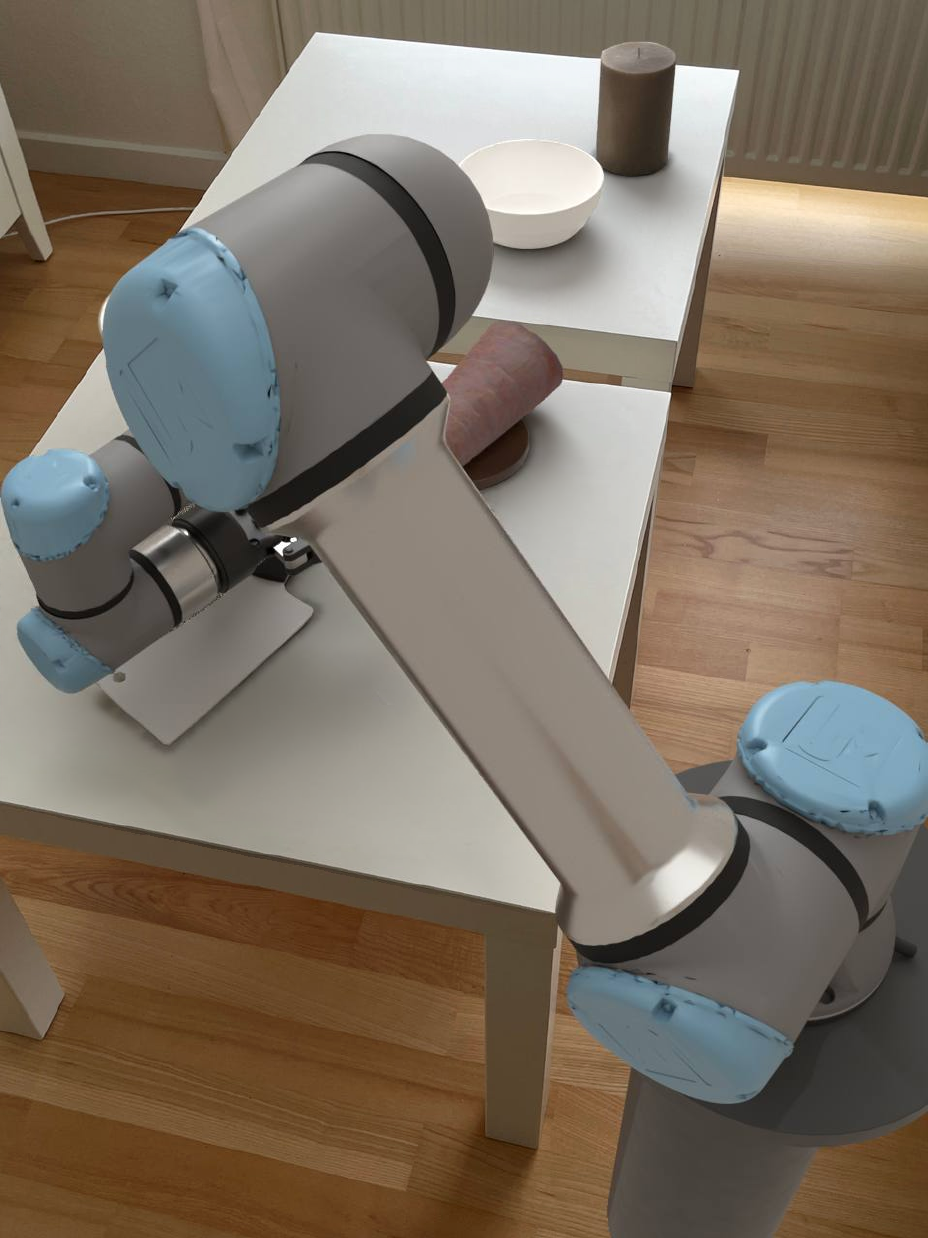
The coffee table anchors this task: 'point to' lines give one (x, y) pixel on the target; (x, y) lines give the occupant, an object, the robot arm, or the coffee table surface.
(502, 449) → the cake board
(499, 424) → the food
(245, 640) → the kitchen cleaver
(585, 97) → the coffee table surface
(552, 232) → the bowl
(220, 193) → the coffee table surface
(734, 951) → the robot arm
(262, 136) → the coffee table surface
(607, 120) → the pillar candle
